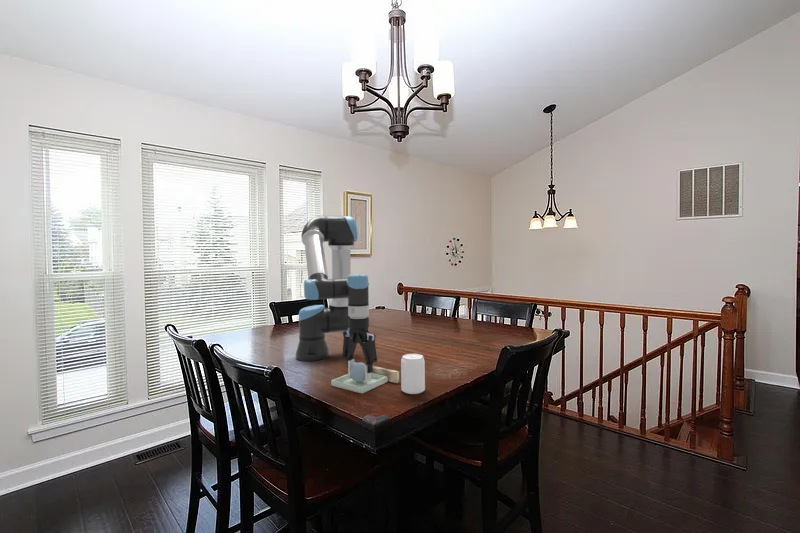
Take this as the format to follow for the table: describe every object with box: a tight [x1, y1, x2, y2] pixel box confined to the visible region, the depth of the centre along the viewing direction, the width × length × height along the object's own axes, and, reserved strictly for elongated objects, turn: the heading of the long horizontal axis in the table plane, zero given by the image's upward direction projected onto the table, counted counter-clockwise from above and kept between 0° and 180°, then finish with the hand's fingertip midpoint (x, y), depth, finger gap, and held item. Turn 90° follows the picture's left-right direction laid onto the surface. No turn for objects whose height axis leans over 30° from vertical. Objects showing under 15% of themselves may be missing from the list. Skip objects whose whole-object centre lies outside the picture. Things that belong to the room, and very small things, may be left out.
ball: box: [350, 361, 366, 382], centre depth 141 cm, size 7×7×7 cm
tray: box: [330, 373, 389, 395], centre depth 141 cm, size 14×14×2 cm
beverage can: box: [400, 353, 426, 395], centre depth 133 cm, size 8×8×12 cm
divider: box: [355, 362, 400, 384], centre depth 148 cm, size 24×2×4 cm, turn 55°
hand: (359, 379), depth 141 cm, fingers open, 7 cm apart
